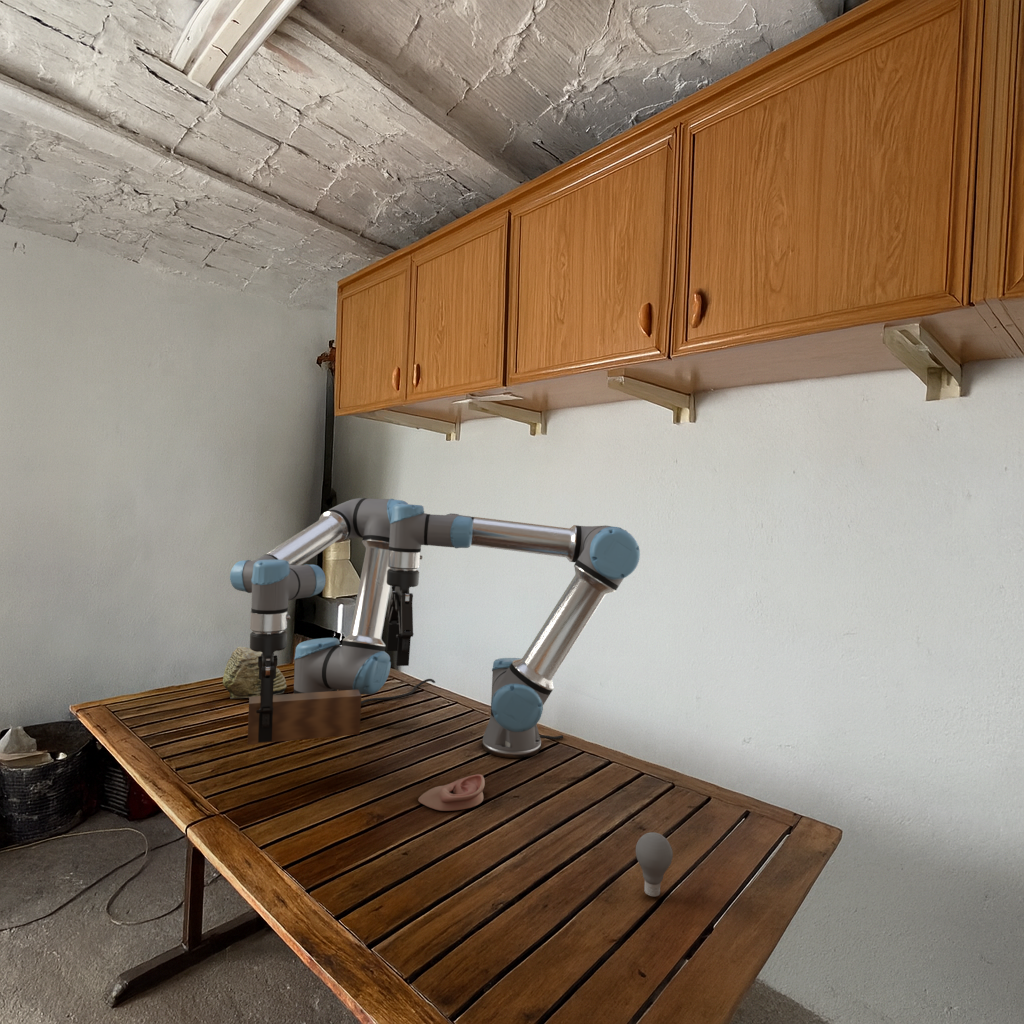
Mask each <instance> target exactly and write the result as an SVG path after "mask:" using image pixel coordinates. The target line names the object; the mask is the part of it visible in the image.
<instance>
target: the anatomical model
mask: <svg viewBox="0 0 1024 1024" xmlns="http://www.w3.org/2000/svg"><path fill="white" fill-rule="evenodd" d="M485 782H486V781H485V777H484V775H483V774H480V773H479V774H478V773H477V774H472V775H469V776H465V777H462V778H459V779H457V780H455V781H452V782H450V783H447V784H445V785H438V786H435V787H432V788H430V789H428V790H426V791H425V792H423V793H422V794H421V795H420V796H419V797H418V799H417V800H418V802H419V803H420V804H422V805H423V806H425V807H427V808H430V809H432V810H436V811H438V812H439V811H440V812H451V811H452V812H453V811H460V810H466V809H471V808H475V807H476V806H478V805H480V804H481V803H482V802H483V801H484V793H483V791H484V788H485V786H486V785H485V784H486V783H485Z"/></svg>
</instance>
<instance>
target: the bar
mask: <svg viewBox="0 0 1024 1024" xmlns="http://www.w3.org/2000/svg"><path fill="white" fill-rule="evenodd" d="M248 699H249V700H248V721H247V745H257V744H268V743H277V742H278V743H279V742H289V741H298V740H299V741H300V740H310V739H311V740H312V739H321V738H331V737H343V736H354V735H355V736H356V735H360V734H361V715H362V714H361V713H362V704H361V701H362V694H360V692H359V690H343V691H341V690H337V691H328V692H313V693H298V694H294V693H288V694H287V693H285V694H284V693H282V694H276V695H273V720H272V741H269V742H258V735H259V713H256V710H259V709H260V701H261V696H253V697H249V698H248Z"/></svg>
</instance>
